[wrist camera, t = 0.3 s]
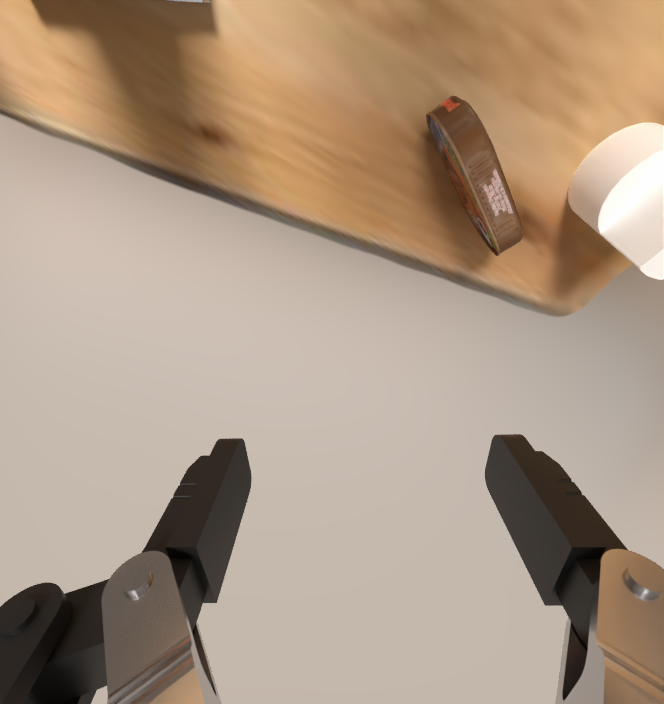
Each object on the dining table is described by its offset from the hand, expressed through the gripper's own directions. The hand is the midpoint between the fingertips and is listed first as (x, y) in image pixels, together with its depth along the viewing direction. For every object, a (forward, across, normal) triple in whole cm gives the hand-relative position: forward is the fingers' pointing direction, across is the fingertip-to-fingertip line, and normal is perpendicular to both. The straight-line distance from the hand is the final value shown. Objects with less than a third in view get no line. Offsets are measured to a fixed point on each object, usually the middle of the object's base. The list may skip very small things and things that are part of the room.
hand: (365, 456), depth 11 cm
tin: (+30, -12, -9) cm, 34 cm away
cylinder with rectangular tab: (+30, -28, -8) cm, 42 cm away
